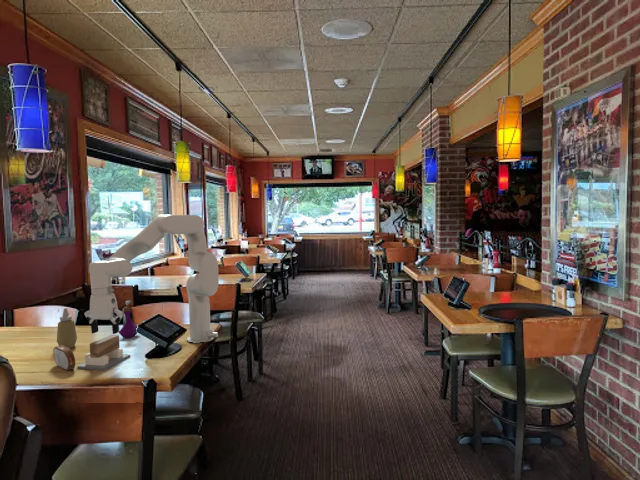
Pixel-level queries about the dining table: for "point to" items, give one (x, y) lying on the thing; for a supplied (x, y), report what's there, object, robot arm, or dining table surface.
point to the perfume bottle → (128, 324)
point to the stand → (104, 360)
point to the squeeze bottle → (66, 331)
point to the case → (104, 346)
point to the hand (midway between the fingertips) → (105, 332)
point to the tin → (64, 357)
